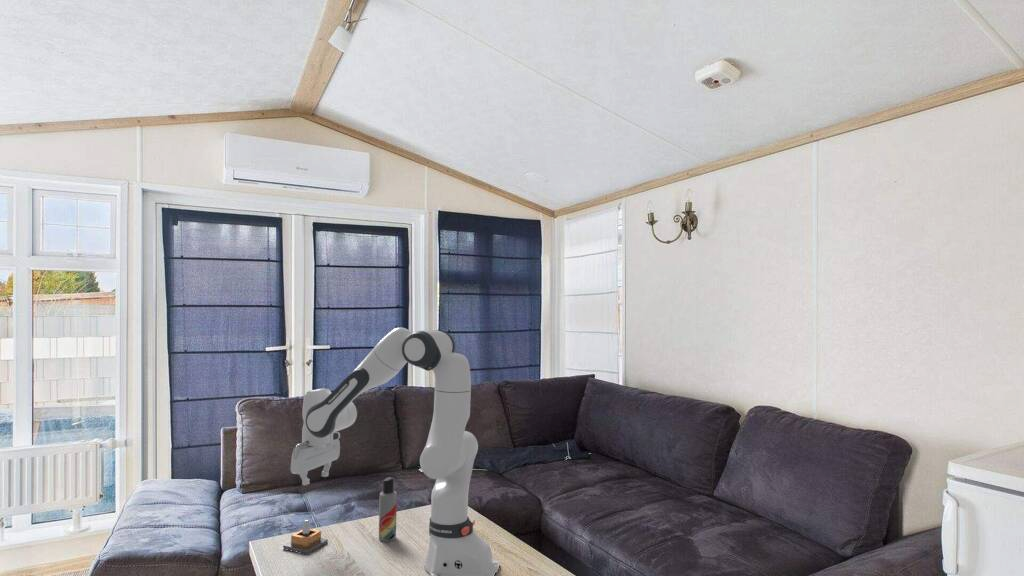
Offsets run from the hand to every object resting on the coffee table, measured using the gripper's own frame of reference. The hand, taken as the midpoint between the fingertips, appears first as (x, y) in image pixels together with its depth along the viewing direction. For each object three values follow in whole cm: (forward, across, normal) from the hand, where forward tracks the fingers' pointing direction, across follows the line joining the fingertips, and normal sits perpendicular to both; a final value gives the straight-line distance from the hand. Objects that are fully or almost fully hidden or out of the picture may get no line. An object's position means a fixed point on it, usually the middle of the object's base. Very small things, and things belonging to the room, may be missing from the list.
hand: (315, 480), depth 179 cm
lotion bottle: (+21, +12, -20) cm, 31 cm away
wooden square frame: (+19, -3, +1) cm, 19 cm away
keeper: (+20, -3, +1) cm, 21 cm away
